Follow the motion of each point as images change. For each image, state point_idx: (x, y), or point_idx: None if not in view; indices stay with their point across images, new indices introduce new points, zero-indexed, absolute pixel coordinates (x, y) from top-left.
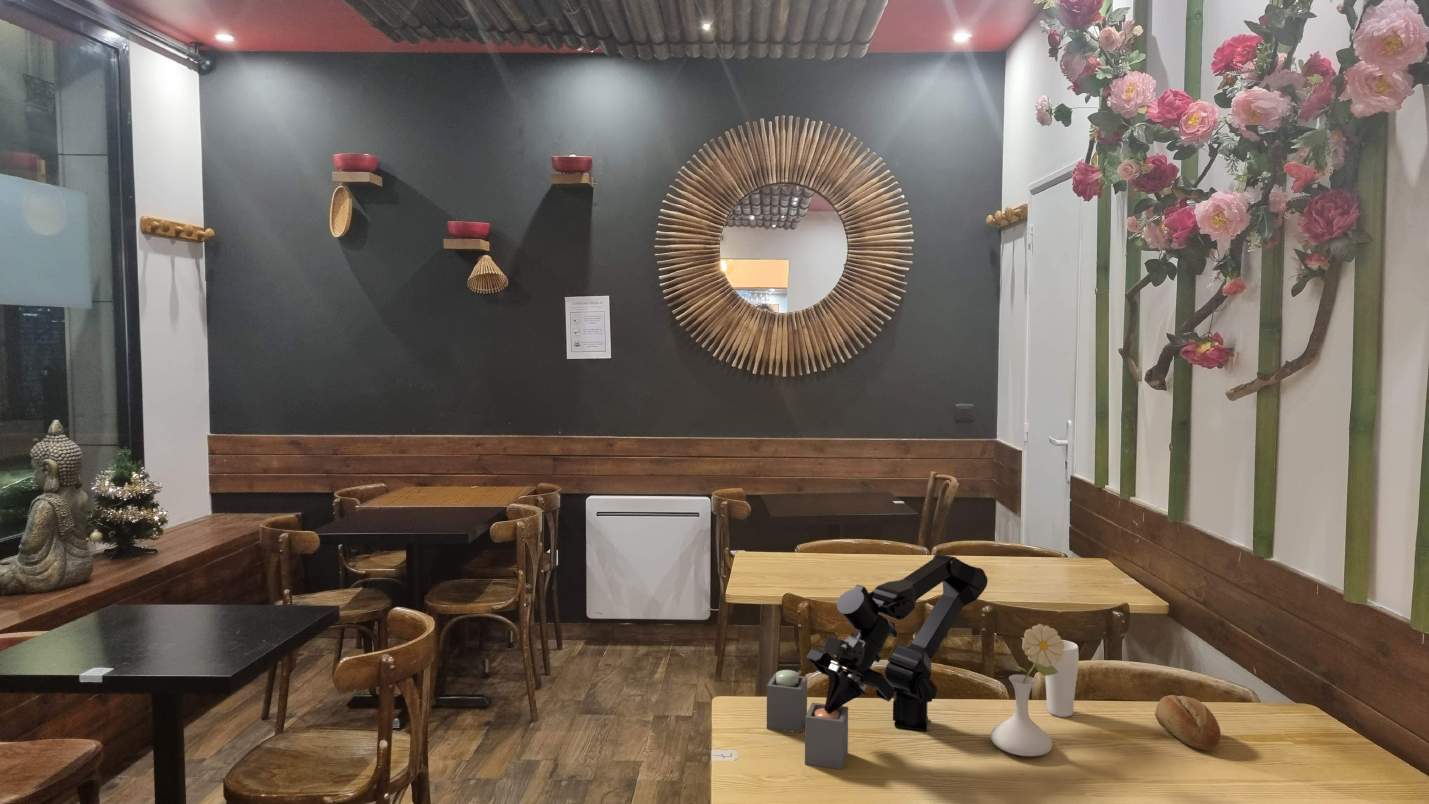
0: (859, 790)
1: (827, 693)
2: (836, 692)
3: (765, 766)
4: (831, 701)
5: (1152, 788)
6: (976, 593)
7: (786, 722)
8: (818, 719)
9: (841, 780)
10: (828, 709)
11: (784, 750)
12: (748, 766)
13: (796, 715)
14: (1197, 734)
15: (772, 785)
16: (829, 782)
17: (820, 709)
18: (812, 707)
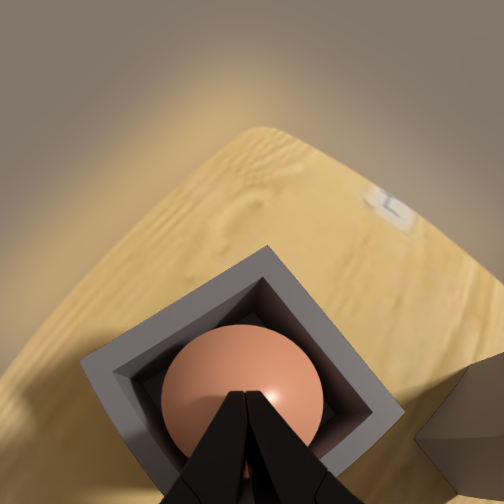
0: (51, 327)
1: (315, 457)
2: (213, 496)
3: (303, 230)
4: (226, 431)
5: None
6: None
7: (456, 403)
8: (201, 286)
9: (109, 334)
10: (226, 398)
11: (353, 330)
12: (324, 202)
13: (455, 427)
14: None
15: (217, 187)
16: (125, 300)
17: (311, 405)
18: (349, 367)
